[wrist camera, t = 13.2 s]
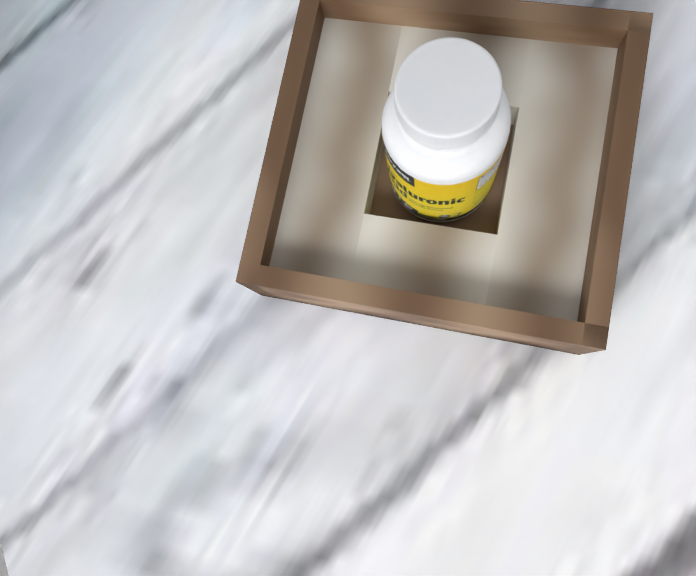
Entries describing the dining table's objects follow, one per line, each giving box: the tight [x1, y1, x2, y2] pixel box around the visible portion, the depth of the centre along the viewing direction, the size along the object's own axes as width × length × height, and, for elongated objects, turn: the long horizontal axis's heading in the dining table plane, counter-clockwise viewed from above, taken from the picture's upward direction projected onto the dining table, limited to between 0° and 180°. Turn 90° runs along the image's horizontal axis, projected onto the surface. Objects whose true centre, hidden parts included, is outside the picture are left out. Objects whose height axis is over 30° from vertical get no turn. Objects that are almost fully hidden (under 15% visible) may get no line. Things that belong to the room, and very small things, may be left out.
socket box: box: [236, 0, 653, 355], centre depth 30 cm, size 17×16×4 cm
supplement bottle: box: [382, 37, 511, 222], centre depth 26 cm, size 5×5×10 cm
